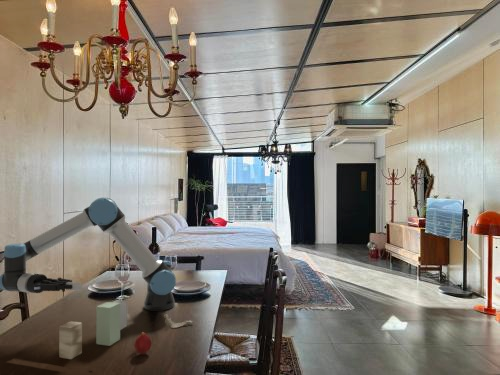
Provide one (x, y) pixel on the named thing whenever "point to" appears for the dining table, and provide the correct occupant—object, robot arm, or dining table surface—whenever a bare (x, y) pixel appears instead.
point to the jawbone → (175, 325)
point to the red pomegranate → (143, 343)
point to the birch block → (70, 340)
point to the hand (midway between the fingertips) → (80, 286)
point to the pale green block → (107, 323)
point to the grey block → (122, 313)
